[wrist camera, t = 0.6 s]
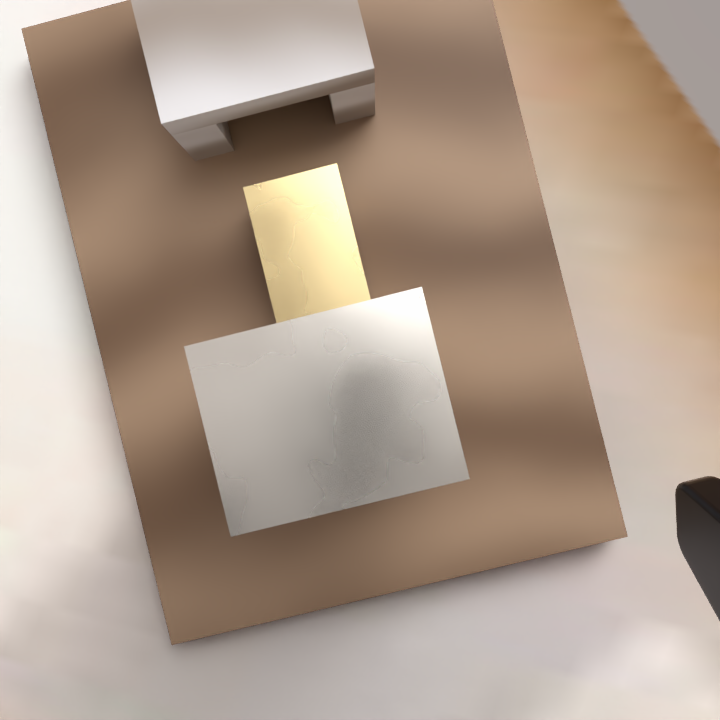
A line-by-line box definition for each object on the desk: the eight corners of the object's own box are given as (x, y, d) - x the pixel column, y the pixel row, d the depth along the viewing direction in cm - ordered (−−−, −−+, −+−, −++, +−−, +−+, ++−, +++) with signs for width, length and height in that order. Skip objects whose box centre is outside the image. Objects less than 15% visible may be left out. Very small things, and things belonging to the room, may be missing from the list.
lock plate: (612, 525, 24) (674, 569, 19) (184, 627, 25) (133, 697, 19) (464, -64, 24) (486, -176, 19) (43, 48, 25) (-45, -33, 20)
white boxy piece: (434, 432, 22) (469, 478, 13) (290, 467, 23) (230, 537, 14) (369, 173, 23) (362, 48, 14) (226, 210, 23) (126, 110, 14)
